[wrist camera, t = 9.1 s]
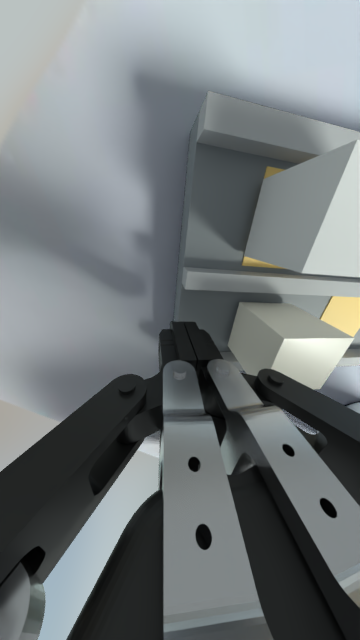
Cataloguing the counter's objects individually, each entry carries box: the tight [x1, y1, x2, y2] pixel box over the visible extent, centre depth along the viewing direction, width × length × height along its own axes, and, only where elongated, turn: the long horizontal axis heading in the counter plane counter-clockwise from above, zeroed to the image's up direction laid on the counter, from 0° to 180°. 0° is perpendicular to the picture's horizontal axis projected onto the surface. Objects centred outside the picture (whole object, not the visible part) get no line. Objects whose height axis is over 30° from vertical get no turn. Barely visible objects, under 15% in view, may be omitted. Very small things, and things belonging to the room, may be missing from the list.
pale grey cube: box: [244, 139, 360, 277], centre depth 8 cm, size 4×4×4 cm
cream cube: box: [228, 302, 354, 389], centre depth 11 cm, size 4×4×4 cm
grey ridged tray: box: [173, 91, 360, 371], centre depth 13 cm, size 20×14×3 cm
